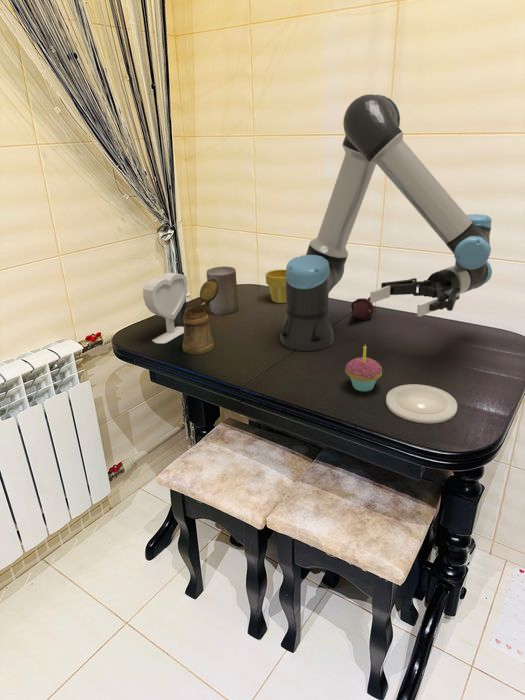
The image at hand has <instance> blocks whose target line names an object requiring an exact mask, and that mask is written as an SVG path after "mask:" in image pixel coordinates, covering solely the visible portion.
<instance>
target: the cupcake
mask: <svg viewBox="0 0 525 700" xmlns="http://www.w3.org/2000/svg"><path fill="white" fill-rule="evenodd" d="M362 351H363V352H362V356H360V357H356V358H352V359H351V360H349V361H348V362H347V363H346V365H345V369H344V372H345V374H346V375H347V376H348V377H349V378H350V380H351V384H352V387H353V388H354V390H357V391H359V392H371V391H372V390H373V389H374V387H375V384H376V383H377V380H379V379H380V378H381V377H382V375H383V368H382V364H380V362H378V361H377V360H375V359H373V358H371V357H367V345H366V343H365V344H364V345H363V349H362Z"/></svg>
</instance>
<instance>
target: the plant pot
mask: <svg viewBox="0 0 525 700" xmlns="http://www.w3.org/2000/svg"><path fill="white" fill-rule="evenodd" d="M285 275H286V269H281V268H280V269H273V270H269V271H267V272H266V273H265V283H266V285H267V287H268V290H269V294H270V297H271V301H272V302H274V303H276V304H286V277H285Z"/></svg>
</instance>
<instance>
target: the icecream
mask: <svg viewBox="0 0 525 700" xmlns="http://www.w3.org/2000/svg"><path fill="white" fill-rule="evenodd" d="M350 308H351V316H353V317H355V318H356V319H357V320H360V321H367V320H369V318H371V317H372V315H373V313H374V310H375V309H374V308H375V306H374V303H370V296H369V297H368V298H357V299H355V300H354V301H352V302H351V306H350Z"/></svg>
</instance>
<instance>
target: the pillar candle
mask: <svg viewBox="0 0 525 700" xmlns="http://www.w3.org/2000/svg"><path fill="white" fill-rule="evenodd" d="M205 273H206V280H207V281H208V280H210V279H213V278H214V279H215V280H216V281H217V283H218V286H219V289H218V293H217V296H216V297H215V298H214V299H213V300H212V301H211V302H210V303H209V304H210V307H211V314H212V313H213V314H214V315H220V316H224V315H230V314H234V313H236V312H237V311H239V301H238V300H239V299H238V283H237V282H238V281H237V272H236V268H235V267H233V266H216V267H212V268H209V269H207V270H206V272H205ZM207 281H206V282H207Z"/></svg>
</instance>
